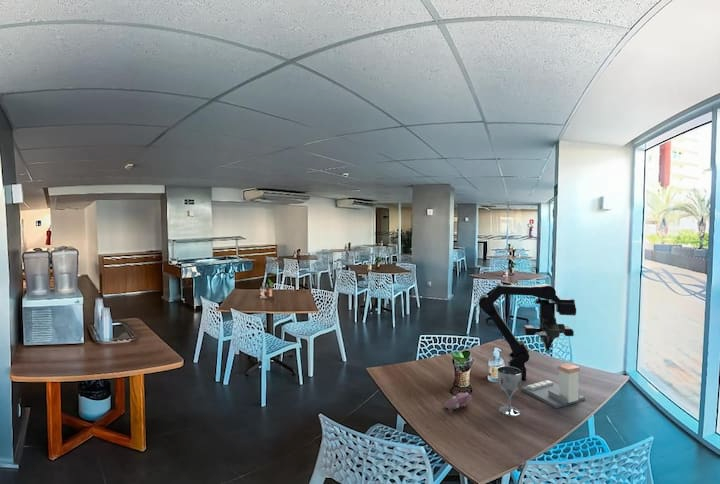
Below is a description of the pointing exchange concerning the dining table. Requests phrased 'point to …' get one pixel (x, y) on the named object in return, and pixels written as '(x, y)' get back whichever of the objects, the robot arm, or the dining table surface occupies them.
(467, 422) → the dining table surface
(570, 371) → the key
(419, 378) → the dining table surface
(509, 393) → the wine glass
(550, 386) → the keyboard deck
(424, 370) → the dining table surface
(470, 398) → the pink toy figurine
